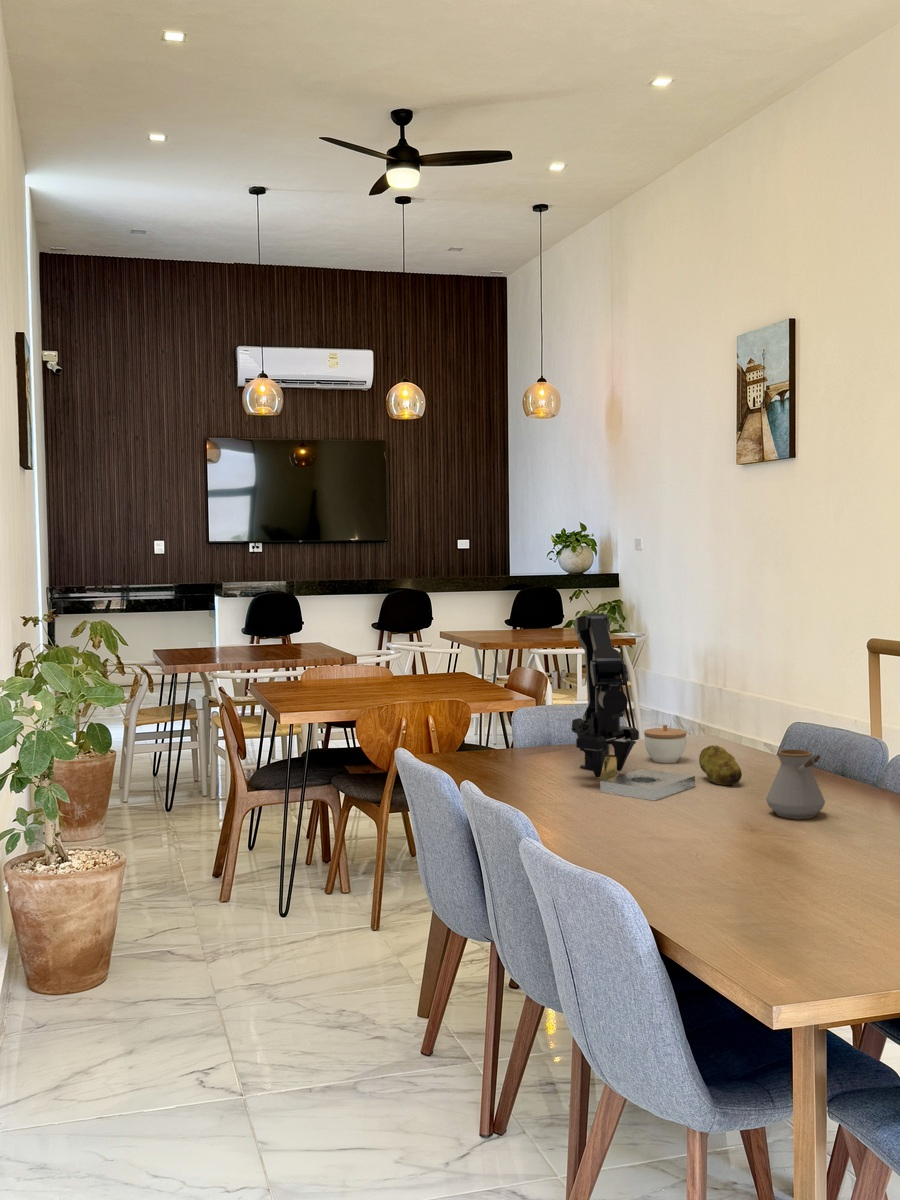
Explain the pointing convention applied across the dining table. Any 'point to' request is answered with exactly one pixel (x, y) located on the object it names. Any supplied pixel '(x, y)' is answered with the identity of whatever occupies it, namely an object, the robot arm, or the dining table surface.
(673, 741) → the lidded jar
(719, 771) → the potato
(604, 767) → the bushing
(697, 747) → the dining table surface
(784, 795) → the coffee pot
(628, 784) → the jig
